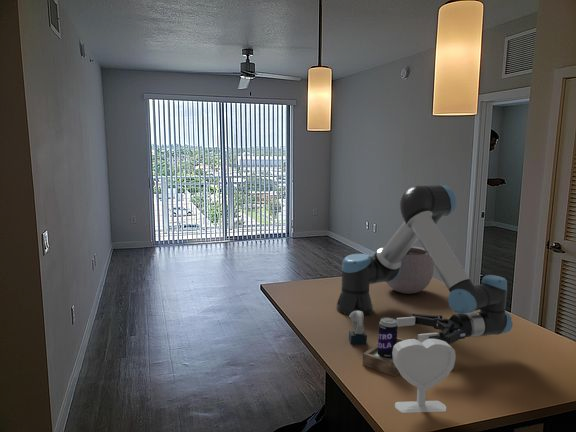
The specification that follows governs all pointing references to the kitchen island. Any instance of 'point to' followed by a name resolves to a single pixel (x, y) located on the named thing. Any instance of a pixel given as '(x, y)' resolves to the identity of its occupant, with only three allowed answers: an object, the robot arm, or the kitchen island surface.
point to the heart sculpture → (423, 370)
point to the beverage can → (387, 337)
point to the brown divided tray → (380, 361)
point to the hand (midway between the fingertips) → (406, 330)
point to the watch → (357, 328)
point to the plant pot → (413, 272)
